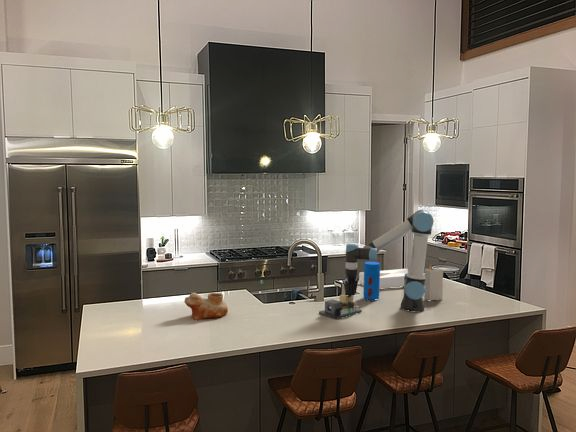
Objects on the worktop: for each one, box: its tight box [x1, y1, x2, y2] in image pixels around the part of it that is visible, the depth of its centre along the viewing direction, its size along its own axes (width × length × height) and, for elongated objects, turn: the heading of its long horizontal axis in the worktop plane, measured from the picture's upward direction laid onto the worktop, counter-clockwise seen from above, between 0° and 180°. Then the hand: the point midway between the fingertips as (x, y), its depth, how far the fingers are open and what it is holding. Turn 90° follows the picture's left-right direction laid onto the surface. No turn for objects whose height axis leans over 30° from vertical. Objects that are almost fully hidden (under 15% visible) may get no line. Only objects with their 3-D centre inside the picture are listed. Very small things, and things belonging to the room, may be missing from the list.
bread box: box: [358, 268, 425, 289], centre depth 407 cm, size 45×22×10 cm, turn 113°
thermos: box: [362, 261, 381, 301], centre depth 363 cm, size 11×11×25 cm
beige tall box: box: [423, 263, 444, 300], centre depth 364 cm, size 8×12×26 cm
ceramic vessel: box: [184, 292, 229, 321], centre depth 317 cm, size 14×26×15 cm, turn 111°
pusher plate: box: [328, 294, 358, 310], centre depth 325 cm, size 12×16×8 cm
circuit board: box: [318, 298, 363, 320], centre depth 328 cm, size 15×23×8 cm, turn 132°
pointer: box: [348, 301, 355, 311], centre depth 324 cm, size 3×2×5 cm, turn 42°
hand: (350, 305), depth 334 cm, fingers closed
